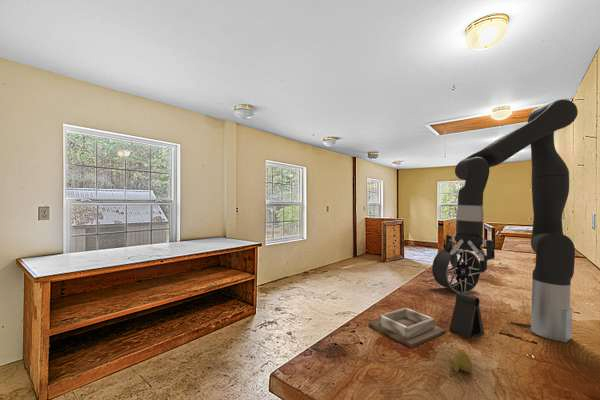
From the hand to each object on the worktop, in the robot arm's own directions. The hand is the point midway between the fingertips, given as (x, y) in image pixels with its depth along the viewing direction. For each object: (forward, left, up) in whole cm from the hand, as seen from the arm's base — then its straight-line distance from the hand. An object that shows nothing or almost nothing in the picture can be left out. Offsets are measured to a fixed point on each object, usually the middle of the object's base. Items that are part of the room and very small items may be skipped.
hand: (467, 269), depth 90 cm
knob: (-10, +24, -21) cm, 33 cm away
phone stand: (0, 0, -21) cm, 21 cm away
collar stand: (+11, +16, -20) cm, 28 cm away
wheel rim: (+25, -42, -21) cm, 53 cm away
